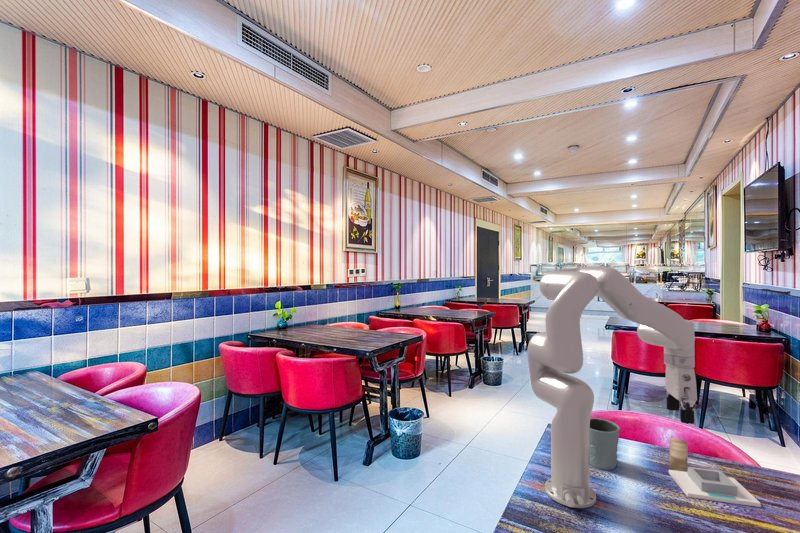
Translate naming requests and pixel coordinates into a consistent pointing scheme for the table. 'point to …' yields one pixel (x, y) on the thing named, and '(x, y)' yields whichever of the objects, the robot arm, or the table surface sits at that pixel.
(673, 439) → the barrel peg
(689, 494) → the white square-hole tray
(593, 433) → the grey cylindrical pot
